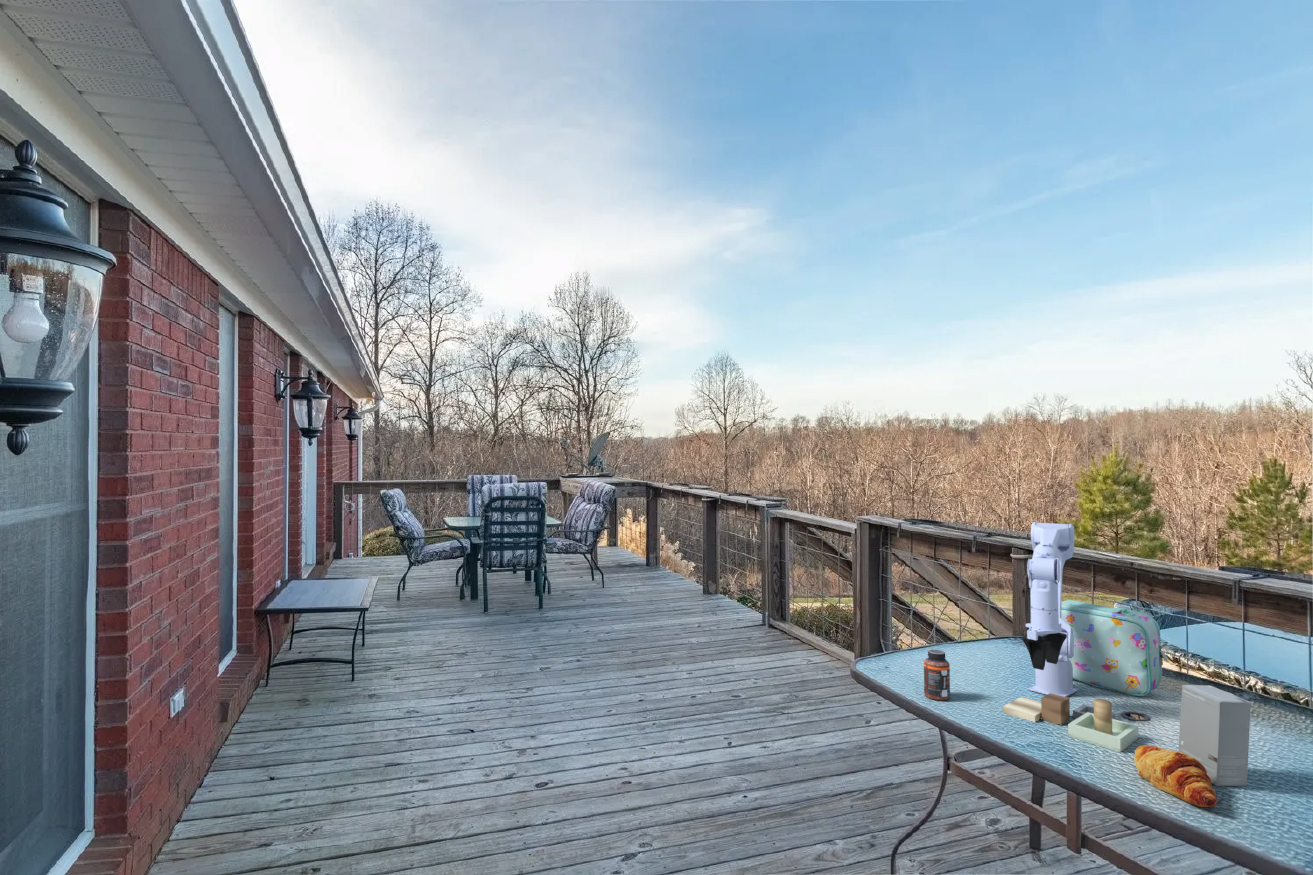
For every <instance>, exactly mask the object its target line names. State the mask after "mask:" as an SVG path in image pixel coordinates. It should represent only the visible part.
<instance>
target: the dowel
mask: <svg viewBox="0 0 1313 875" xmlns="http://www.w3.org/2000/svg"><path fill="white" fill-rule="evenodd" d="M1112 705H1113V704H1112V702H1111V701H1110V700H1107V699H1104V698H1094V699H1093V707H1094V730H1096V731H1099V732H1103V733H1106V734H1109V735H1112V712H1113V706H1112Z"/></svg>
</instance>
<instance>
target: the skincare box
mask: <svg viewBox="0 0 1313 875" xmlns="http://www.w3.org/2000/svg"><path fill="white" fill-rule="evenodd" d="M1180 698H1181V699H1180V700H1181V701H1180V718H1179V734H1178V750H1177V752H1183V753H1185V754H1187V755H1190V756H1191V757H1194V758H1196V759H1197V760H1198V761H1199V762H1200V763H1201V764H1202V765H1203V766H1204V767H1205V769H1206V771H1207V775H1208V776H1209V777H1210V779H1211V783H1212V784H1213V785H1214V786H1216V787H1227V786H1228V787H1229V786H1230V787H1233V786H1235V787H1238V786H1239V787H1240V786H1241V787H1242V786H1247V785H1248V770H1249V769H1248V767H1249V750H1250V747H1249V746H1250V726H1251V706H1252V702H1251V701H1249V700H1246V699H1244V698H1241V697H1239V696H1237V695H1235V694H1233V693H1231V692H1229V691H1225V690H1222V689H1220V688H1217V687H1215V686H1212V685H1208V684H1207V685H1203V684H1201V685H1200V684H1199V685H1198V684H1182V685H1181V697H1180Z"/></svg>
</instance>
